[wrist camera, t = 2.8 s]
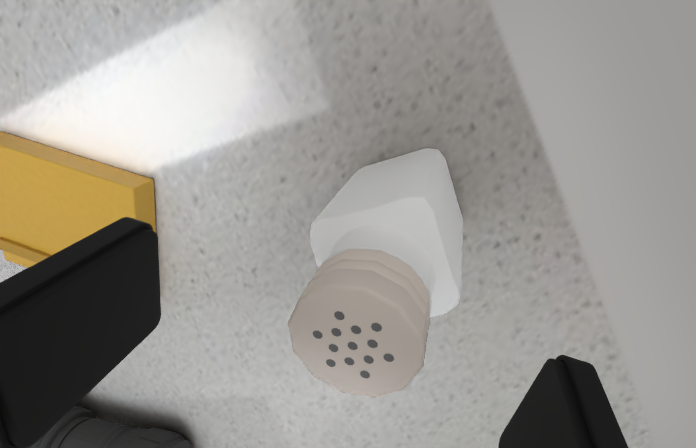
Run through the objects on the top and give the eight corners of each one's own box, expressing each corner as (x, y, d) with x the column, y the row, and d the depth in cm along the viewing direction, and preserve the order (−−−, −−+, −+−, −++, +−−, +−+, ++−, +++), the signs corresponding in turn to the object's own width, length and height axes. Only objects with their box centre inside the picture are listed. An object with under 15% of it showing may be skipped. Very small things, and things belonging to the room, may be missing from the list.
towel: (154, 179, 20) (129, 190, 19) (159, 297, 24) (139, 314, 23) (0, 130, 22) (-35, 137, 20) (28, 248, 26) (0, 261, 24)
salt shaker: (352, 167, 17) (243, 285, 9) (441, 140, 16) (411, 252, 7) (381, 245, 18) (309, 413, 10) (466, 227, 17) (464, 408, 9)
